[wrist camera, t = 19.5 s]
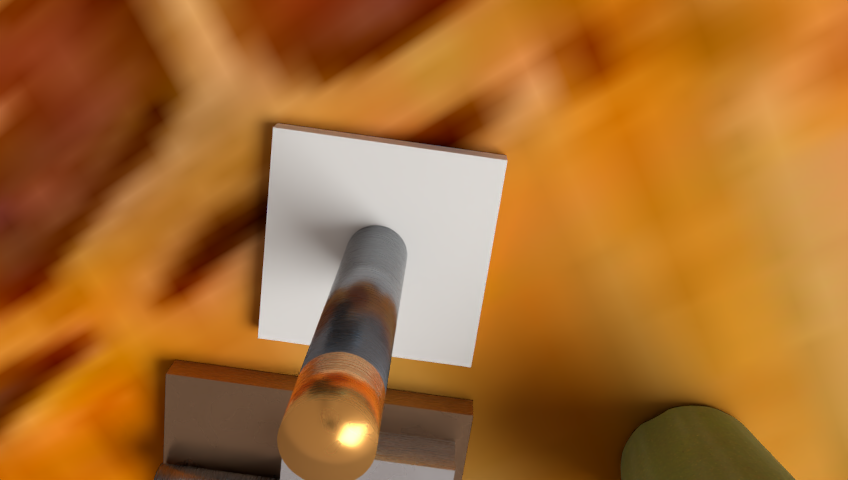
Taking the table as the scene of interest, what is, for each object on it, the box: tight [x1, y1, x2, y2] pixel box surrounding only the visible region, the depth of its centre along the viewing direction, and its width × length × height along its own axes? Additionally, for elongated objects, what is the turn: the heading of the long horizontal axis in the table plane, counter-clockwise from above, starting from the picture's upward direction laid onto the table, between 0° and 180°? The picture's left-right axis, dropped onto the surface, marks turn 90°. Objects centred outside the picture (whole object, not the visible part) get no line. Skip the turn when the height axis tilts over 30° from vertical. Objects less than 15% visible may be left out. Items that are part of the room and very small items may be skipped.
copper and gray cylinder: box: [277, 225, 407, 480], centre depth 31 cm, size 3×3×16 cm
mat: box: [258, 123, 507, 367], centre depth 39 cm, size 11×11×1 cm
